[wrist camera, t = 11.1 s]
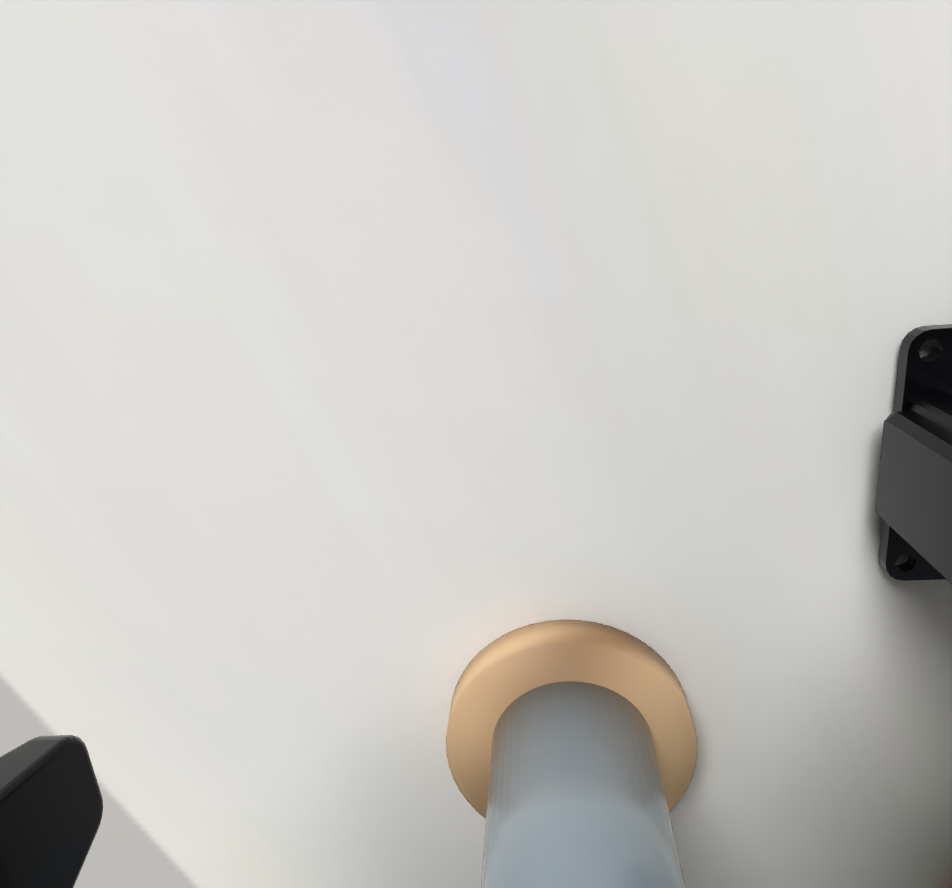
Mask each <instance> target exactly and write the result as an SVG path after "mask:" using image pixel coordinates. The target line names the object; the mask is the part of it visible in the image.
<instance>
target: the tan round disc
mask: <svg viewBox="0 0 952 888" xmlns="http://www.w3.org/2000/svg"><path fill="white" fill-rule="evenodd" d="M564 681H577V682H586V683H592V684H596V685H599V686H603V687H606V688H608V689H610V690H612V691H615V692H616V693H618V694H620V695H622V696H623V697H625V698H626V699H627V700H628V701H630V702H631V703H632V704H633V705H634V706H635V707H636V708H637V709H638V710H639V711H640V713H641V714H642V715H643V717H644V718H645V720H646V722H647V724H648V725H649V728H650V731H651V734H652V738H653V743H654V747H655V752H656V756H657V761H658V765H659V770H660V774H661V779H662V784H663V788H664V793H665V797H666V802H667V806H668V811H669V812H670V811H671V810H672V809H673V807H674V806H675V805H676V804H677V803H678V802H679V801H680V799H681V797H682V796H683V794H684V793H685V791H686V790H687V788H688V785H689V783H690V781H691V779H692V776H693V773H694V769H695V765H696V758H697V738H696V733H695V728H694V724H693V720H692V717H691V714H690V710H689V707H688V704H687V700H686V697H685V694H684V692H683V689H682V687H681V684H680V682H679V680H678V679H677V677H676V675H675V673H674V672H673V670H672V669H671V668H670V666H669V665H668V664H667V663H666V662H665V660H664V659H663V658H662V657H661V656H660V655H659V654H658V653H656V652H655V651H654V650H653V649H652V648H651V647H649V646H648V645H646V644H645V643H644V642H642V641H641V640H639V639H637V638H635V637H634V636H632V635H630V634H628V633H626V632H624V631H621V630H618V629H616V628H613V627H611V626H607V625H603V624H599V623H595V622H588V621H581V620H555V621H545V622H540V623H535V624H531V625H528V626H525V627H522V628H519V629H516V630H514V631H511V632H509V633H507V634H505V635H503V636H501V637H500V638H498V639H496V640H495V641H493V642H492V643H490V644H489V645H488V646H486V647H485V648H484V649H483V650H482V651H480V652H479V653H478V654H477V655H476V656H475V658H474V659H473V660H472V661H471V662H470V663H469V664H468V666H467V667H466V669H465V670H464V672H463V673H462V675H461V677H460V679H459V681H458V683H457V685H456V688H455V691H454V695H453V698H452V704H451V710H450V716H449V722H448V729H447V736H446V753H447V758H448V763H449V767H450V770H451V773H452V776H453V779H454V780H455V782H456V784H457V786H458V788H459V790H460V791H461V793H462V794H463V796H464V797H465V798H466V800H467V801H468V802H469V803H470V804H471V805H472V807H473V808H474V809H475V810H476V811H477V812H478V813H480V814H481V815H482V816H483V817H484V818H486V815H487V802H488V789H489V775H490V762H491V749H492V738H493V733H494V729H495V726H496V724H497V721H498V720H499V718H500V716H501V714H502V713H503V712H504V711H505V709H506V708H507V707H508V706H509V705H510V704H511V703H512V702H513V701H514V700H516V699H517V698H518V697H520V696H521V695H522V694H524V693H526V692H528V691H530V690H532V689H534V688H537V687H539V686H542V685H546V684H550V683H555V682H564Z"/></svg>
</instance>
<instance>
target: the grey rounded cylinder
mask: <svg viewBox="0 0 952 888" xmlns="http://www.w3.org/2000/svg"><path fill="white" fill-rule="evenodd" d="M481 888H685V884H684V879H683V874H682V870H681V865H680V861H679V856H678V852H677V847H676V843H675V838H674V834H673V829H672V824H671V820H670V815H669V811H668V806H667V802H666V797H665V793H664V788H663V784H662V779H661V774H660V770H659V765H658V761H657V756H656V752H655V747H654V743H653V738H652V734H651V731H650V728H649V725H648V724H647V722H646V720H645V718H644V717H643V715H642V714H641V713H640V711H639V710H638V709H637V708H636V707H635V706H634V705H633V704H632V703H631V702H630V701H628V700H627V699H626V698H625V697H623V696H622V695H620V694H618V693H616V692H615V691H612V690H610V689H608V688H606V687H603V686H599V685H596V684H592V683H586V682H577V681H564V682H555V683H550V684H546V685H542V686H539V687H537V688H534V689H532V690H530V691H528V692H526V693H524V694H522V695H521V696H520V697H518V698H517V699H516V700H514V701H513V702H512V703H511V704H510V705H509V706H508V707H507V708H506V709H505V711H504V712H503V713H502V714H501V716H500V718H499V720H498V721H497V724H496V726H495V729H494V733H493V738H492V749H491V762H490V775H489V789H488V802H487V815H486V829H485V842H484V855H483V868H482V882H481Z"/></svg>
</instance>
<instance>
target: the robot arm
mask: <svg viewBox="0 0 952 888" xmlns="http://www.w3.org/2000/svg"><path fill="white" fill-rule="evenodd" d="M928 340H932V341H933V345H934V347H933V350H932V352H931V353H930V354H929V355H928V356H926V357H922V358H921V357H920V355H919V350H920V347H921V345H922V344H923V343H924V342H926V341H928ZM875 509H876V513H877V514H878V515H879V516H880V517H881V518H882V529H881V539H880V548H879V563H880V564H881V566H882V567H883V569H884V570H885V571H886V572H887V573H888V574H889V575H890V576H891V577H893V578H895V579H897V580H904V581H905V580H936V579H947V580H948V581H949V582H950V583H951V584H952V324H949V325H933V326H923V327H919V328H915V329H914V330H912V331H911V332H909V333H908V334H907V335H906V337H905V338H904V339H903V340H902V344H901V347H900V353H899V363H898V373H897V383H896V392H895V402H894V412H892V413H891V414H890V416H889V417H888V418H887V419H886V420H885V421H884V427H883V438H882V448H881V458H880V468H879V478H878V488H877V498H876V508H875ZM905 554H909V557H908V560H907V561H906V562H904V563H903V564H899V565H896V564H895V563H896V561H897V559H898V558H899V557H900V556H901V555H905ZM102 811H103V801H102V795H101V792H100V789H99V786H98V783H97V779H96V776H95V773H94V770H93V767H92V764H91V760H90V757H89V754H88V751H87V748H86V745H85V743H84V742H83V741H82V740H81V739H80V738H79V737H76V736H73V735H60V736H40V737H36V738H34V739H32V740H29V741H28V742H26V743H24V744H22V745H21V746H19V747H17V748H16V749H14V750H12V751H10V752H8V753H7V754H5V755H3V756H1V757H0V888H73V887H74V885H75V882H76V880H77V878H78V875H79V873H80V871H81V868H82V866H83V863H84V861H85V859H86V856H87V854H88V852H89V849H90V847H91V845H92V842H93V840H94V837H95V835H96V833H97V830H98V828H99V825H100V821H101V818H102Z"/></svg>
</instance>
